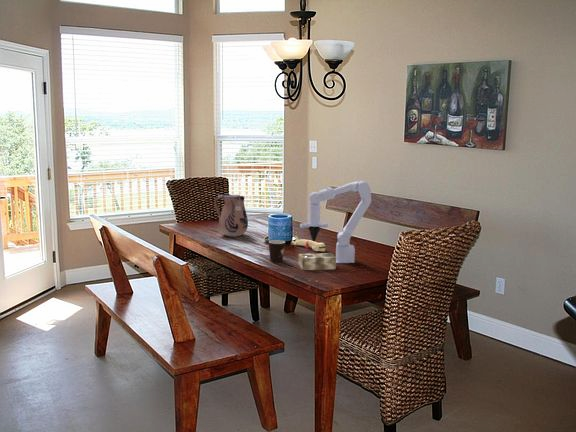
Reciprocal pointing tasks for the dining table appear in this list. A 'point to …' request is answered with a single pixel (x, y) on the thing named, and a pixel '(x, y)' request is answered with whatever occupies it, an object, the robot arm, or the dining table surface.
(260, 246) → the dining table surface
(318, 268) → the block
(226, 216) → the ceramic pitcher
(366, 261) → the dining table surface
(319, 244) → the cat figure
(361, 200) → the robot arm
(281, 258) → the coffee mug
